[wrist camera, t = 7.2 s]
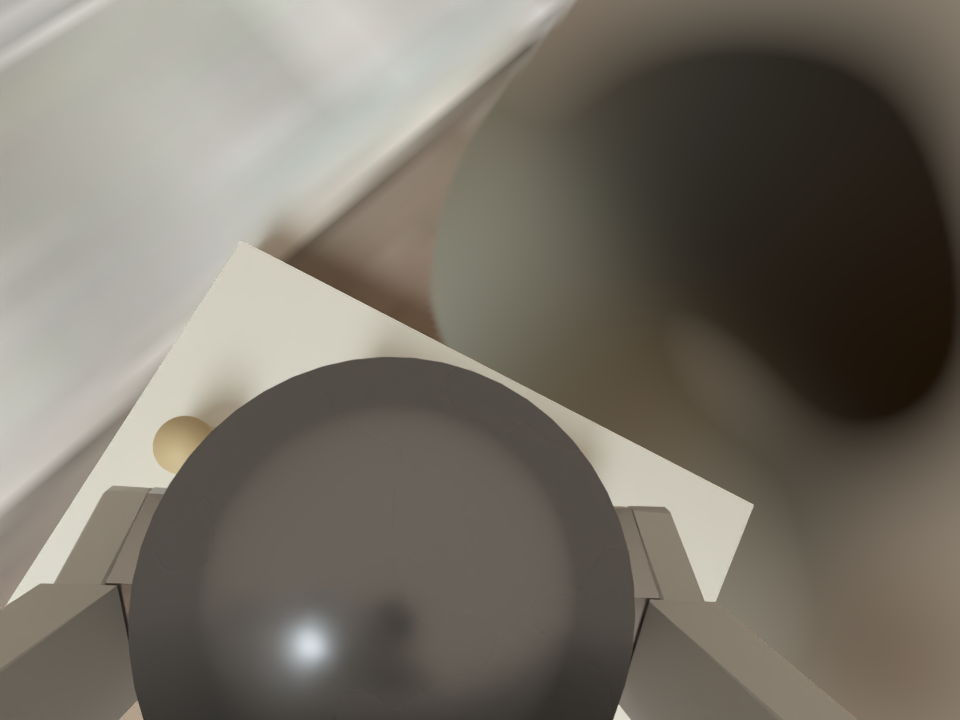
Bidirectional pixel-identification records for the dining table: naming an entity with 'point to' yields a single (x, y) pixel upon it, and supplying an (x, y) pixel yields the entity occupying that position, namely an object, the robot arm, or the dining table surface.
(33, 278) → the dining table surface
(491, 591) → the pin
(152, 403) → the housing
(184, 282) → the dining table surface
